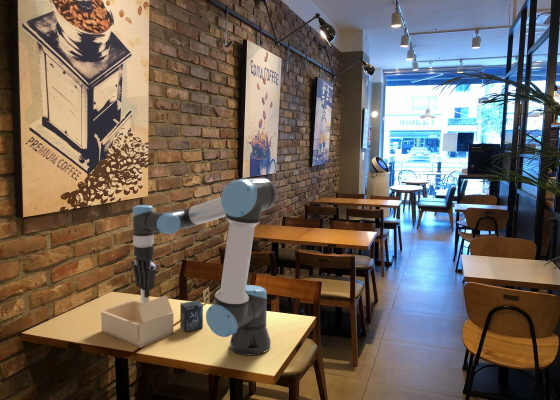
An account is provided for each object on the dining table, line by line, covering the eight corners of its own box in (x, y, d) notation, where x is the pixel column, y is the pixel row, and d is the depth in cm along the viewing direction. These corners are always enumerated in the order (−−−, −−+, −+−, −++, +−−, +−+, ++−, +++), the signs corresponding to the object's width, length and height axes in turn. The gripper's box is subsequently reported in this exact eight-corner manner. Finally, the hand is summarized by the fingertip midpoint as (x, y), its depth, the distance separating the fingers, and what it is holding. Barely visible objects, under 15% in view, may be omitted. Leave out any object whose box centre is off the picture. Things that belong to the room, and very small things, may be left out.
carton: (174, 332, 178) (174, 311, 177) (139, 348, 164) (138, 325, 163) (135, 318, 191) (134, 299, 190) (99, 331, 177) (98, 310, 176)
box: (185, 332, 178) (185, 307, 177) (180, 327, 183) (179, 303, 182) (203, 328, 182) (203, 303, 181) (197, 323, 187) (197, 299, 186)
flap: (172, 311, 175) (166, 295, 176) (143, 323, 163) (137, 305, 164) (171, 312, 175) (165, 295, 176) (142, 323, 164) (136, 305, 165)
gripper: (162, 245, 170) (163, 305, 173) (140, 241, 177) (142, 298, 180) (147, 249, 164) (148, 310, 166) (124, 244, 171) (126, 303, 174)
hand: (145, 304), depth 173 cm, fingers closed
